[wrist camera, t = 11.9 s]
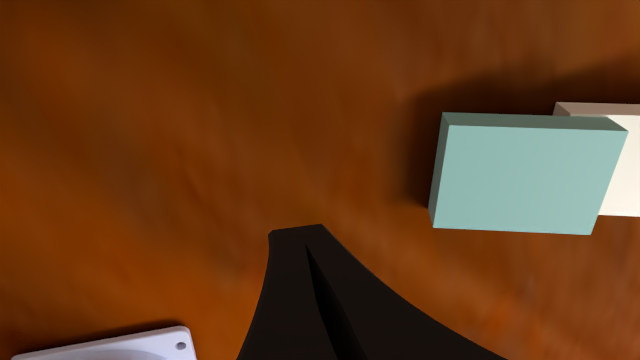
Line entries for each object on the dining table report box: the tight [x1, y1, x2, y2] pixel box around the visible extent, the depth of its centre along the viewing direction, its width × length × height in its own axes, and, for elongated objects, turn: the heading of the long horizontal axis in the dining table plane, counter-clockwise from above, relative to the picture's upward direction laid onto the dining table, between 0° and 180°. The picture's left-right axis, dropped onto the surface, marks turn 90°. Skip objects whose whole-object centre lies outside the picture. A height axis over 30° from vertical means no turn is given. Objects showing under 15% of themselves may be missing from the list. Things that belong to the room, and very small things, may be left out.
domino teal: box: [428, 112, 629, 235], centre depth 19 cm, size 5×2×7 cm
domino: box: [552, 102, 640, 217], centre depth 20 cm, size 5×2×7 cm
